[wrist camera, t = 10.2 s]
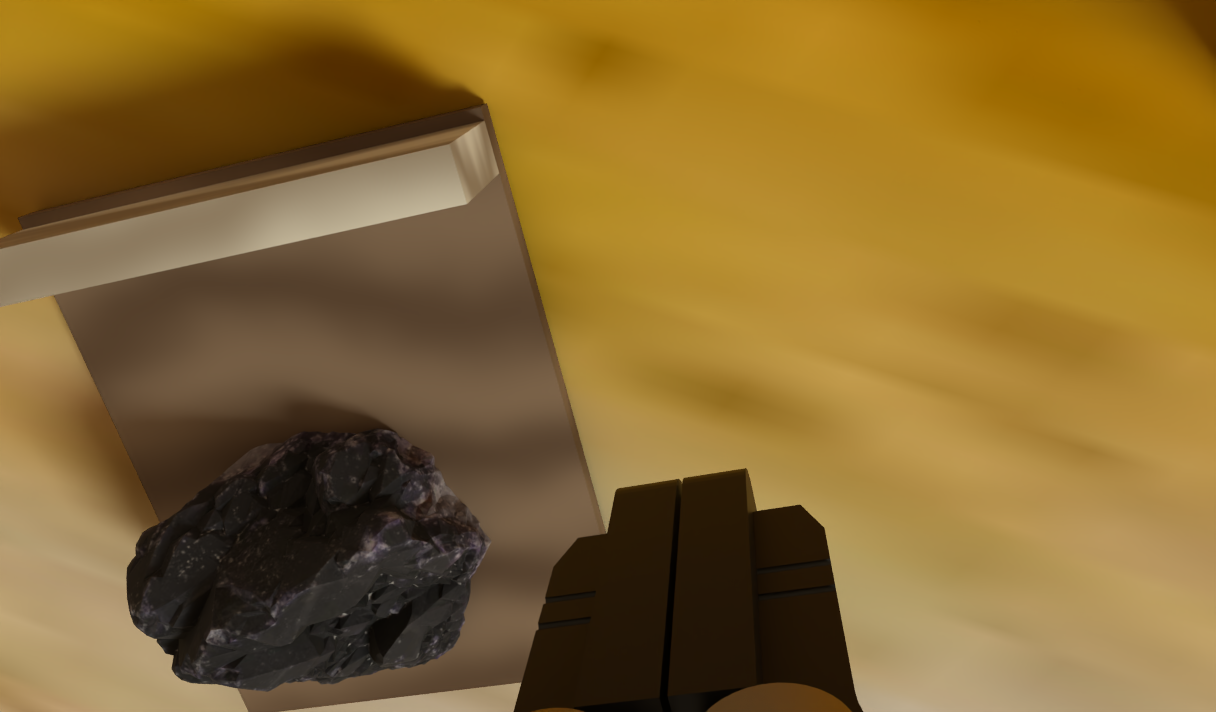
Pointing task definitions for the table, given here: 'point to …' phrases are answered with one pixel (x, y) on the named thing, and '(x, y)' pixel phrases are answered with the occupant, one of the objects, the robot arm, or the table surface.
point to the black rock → (309, 565)
